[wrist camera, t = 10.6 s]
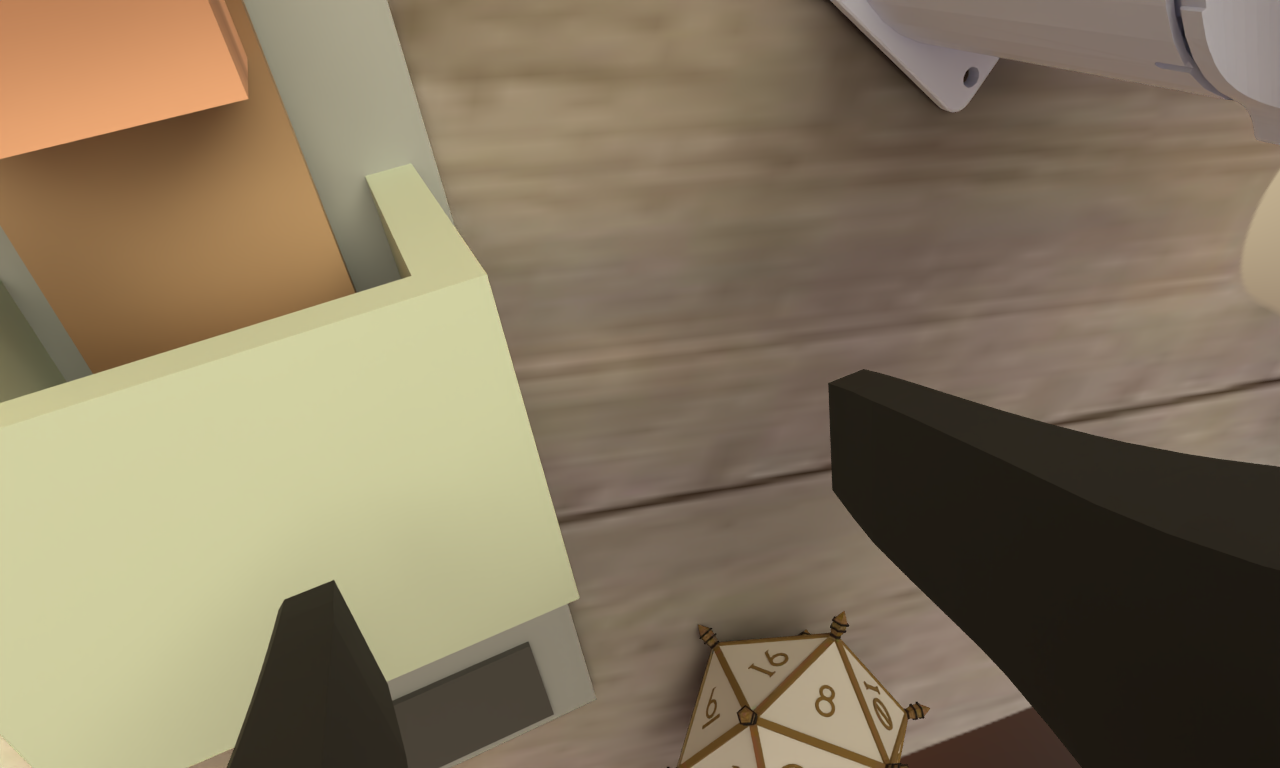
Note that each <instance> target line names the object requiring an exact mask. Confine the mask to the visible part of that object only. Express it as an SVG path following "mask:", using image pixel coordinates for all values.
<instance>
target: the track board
mask: <svg viewBox="0 0 1280 768" xmlns="http://www.w3.org/2000/svg"><path fill="white" fill-rule="evenodd" d="M243 1H244V3H245V6H246V8H247V11H248V13H249V16H250V19H251V21H252V24H253V26H254V29H255V32H256V34H257V37H258V39H259V42H260V44H261V47H262V50H263V52H264V55H265V57H266V60H267V62H268V65H269V68H270V70H271V73H272V75H273V78H274V80H275V83H276V86H277V88H278V91H279V93H280V96H281V99H282V101H283V104H284V106H285V109H286V111H287V114H288V117H289V119H290V122H291V124H292V127H293V129H294V132H295V135H296V137H297V140H298V142H299V145H300V147H301V150H302V153H303V155H304V158H305V160H306V163H307V166H308V168H309V171H310V173H311V176H312V178H313V181H314V184H315V186H316V189H317V191H318V194H319V196H320V199H321V202H322V204H323V207H324V209H325V212H326V214H327V217H328V220H329V222H330V225H331V227H332V230H333V233H334V235H335V238H336V240H337V243H338V245H339V248H340V251H341V253H342V256H343V258H344V261H345V263H346V266H347V269H348V271H349V274H350V276H351V279H352V281H353V284H354V287H355V289H356V292H357V293H358V292H361V291H364V290H367V289H371V288H374V287H377V286H380V285H384V284H387V283H390V282H393V281H397V280H400V279H401V277H400V275H399V272H398V269H397V266H396V263H395V260H394V257H393V255H392V252H391V249H390V246H389V243H388V240H387V238H386V235H385V232H384V229H383V226H382V223H381V220H380V218H379V215H378V212H377V209H376V206H375V203H374V200H373V198H372V195H371V192H370V189H369V186H368V183H367V181H366V178H365V176H367V175H371V174H374V173H378V172H382V171H385V170H389V169H393V168H396V167H400V166H403V165H407V164H412V165H413V167H414V168H415V169H416V171H417V172H418V174H419V175H420V177H421V178H422V180H423V181H424V183H425V184H426V186H427V187H428V189H429V190H430V191H431V193H432V194H433V196H434V197H435V199H436V200H437V202H438V203H439V205H440V206H441V208H442V209H443V211H444V212H445V214H446V215H447V216H448V218H449V219H450V221H451V222H452V224H453V225H454V222H453V219H452V215H451V212H450V209H449V205H448V202H447V199H446V195H445V192H444V189H443V185H442V182H441V179H440V175H439V172H438V169H437V165H436V162H435V159H434V155H433V152H432V149H431V145H430V142H429V139H428V135H427V132H426V129H425V125H424V122H423V119H422V115H421V112H420V109H419V105H418V102H417V98H416V95H415V92H414V88H413V85H412V82H411V78H410V75H409V72H408V68H407V65H406V62H405V58H404V55H403V52H402V48H401V45H400V42H399V38H398V35H397V32H396V28H395V25H394V22H393V18H392V15H391V12H390V8H389V5H388V2H387V0H243ZM454 227H455V225H454ZM0 280H1V281H2V283H3V284H4V286H5V288H6V289H7V291H8V292H9V294H10V295H11V297H12V298H13V300H14V301H15V303H16V304H17V306H18V308H19V309H20V311H21V312H22V314H23V315H24V317H25V318H26V320H27V321H28V323H29V324H30V326H31V328H32V329H33V331H34V332H35V334H36V335H37V337H38V338H39V340H40V341H41V343H42V345H43V346H44V348H45V349H46V351H47V352H48V354H49V355H50V357H51V358H52V360H53V361H54V363H55V365H56V366H57V368H58V369H59V371H60V372H61V374H62V375H63V377H64V378H65V380H66V381H67V382H70V381H73V380H76V379H80V378H83V377H86V376H89V375H93V373H92V371H91V370H90V368H89V367H88V365H87V363H86V362H85V360H84V359H83V357H82V355H81V354H80V352H79V351H78V349H77V347H76V346H75V344H74V343H73V341H72V339H71V338H70V336H69V335H68V333H67V331H66V330H65V328H64V327H63V325H62V323H61V322H60V320H59V319H58V317H57V315H56V314H55V312H54V311H53V309H52V307H51V306H50V304H49V303H48V301H47V299H46V298H45V296H44V295H43V293H42V291H41V290H40V288H39V287H38V285H37V283H36V282H35V280H34V279H33V277H32V275H31V274H30V272H29V271H28V269H27V267H26V266H25V264H24V262H23V261H22V259H21V258H20V256H19V254H18V253H17V251H16V250H15V248H14V246H13V245H12V243H11V242H10V240H9V238H8V237H7V235H6V234H5V232H4V230H3V229H2V227H1V226H0ZM525 642H529V644H530V647H531V650H532V653H533V655H534V658H535V661H536V664H537V667H538V670H539V673H540V675H541V678H542V681H543V684H544V687H545V690H546V693H547V695H548V698H549V701H550V704H551V707H552V710H553V712H554V715H552V716H550V717H548V718H545V719H543V720H541V721H539V722H537V723H535V724H533V725H530V726H528V727H526V728H524V729H522V730H520V731H517V732H515V733H513V734H511V735H509V736H507V737H505V738H502V739H500V740H498V741H496V742H494V743H492V744H490V745H487V746H485V747H483V748H481V749H479V750H477V751H475V752H472V753H470V754H468V755H466V756H464V757H462V758H460V759H457V760H455V761H453V762H451V763H449V764H447V765H444V766H442V767H440V768H451V767H453V766H455V765H458V764H460V763H462V762H464V761H466V760H468V759H470V758H473V757H475V756H477V755H479V754H481V753H483V752H485V751H488V750H490V749H492V748H494V747H496V746H498V745H500V744H503V743H505V742H507V741H509V740H511V739H513V738H515V737H518V736H520V735H522V734H524V733H526V732H528V731H530V730H532V729H535V728H537V727H539V726H541V725H543V724H545V723H547V722H550V721H552V720H554V719H556V718H558V717H560V716H562V715H565V714H567V713H569V712H571V711H573V710H575V709H577V708H580V707H582V706H584V705H586V704H588V703H590V702H592V701H595V700H597V699H596V696H595V693H594V689H593V686H592V683H591V679H590V676H589V673H588V669H587V666H586V663H585V659H584V656H583V653H582V649H581V646H580V643H579V639H578V636H577V633H576V629H575V626H574V623H573V619H572V616H571V613H570V609H569V606H568V604H566V605H563V606H561V607H559V608H557V609H554V610H552V611H550V612H547V613H545V614H543V615H540V616H538V617H536V618H533V619H531V620H529V621H526V622H524V623H522V624H519V625H517V626H515V627H512V628H510V629H508V630H506V631H503V632H501V633H499V634H496V635H494V636H492V637H489V638H487V639H485V640H482V641H480V642H478V643H475V644H473V645H471V646H468V647H466V648H464V649H462V650H459V651H457V652H455V653H452V654H450V655H448V656H445V657H443V658H441V659H438V660H436V661H434V662H431V663H429V664H427V665H424V666H422V667H420V668H418V669H415V670H413V671H411V672H408V673H406V674H404V675H401V676H399V677H397V678H394V679H392V680H390V681H387V683H388V686H389V690H390V694H391V698H392V701H393V700H395V699H398V698H400V697H402V696H404V695H407V694H409V693H411V692H414V691H416V690H418V689H420V688H423V687H425V686H427V685H430V684H432V683H434V682H436V681H439V680H441V679H443V678H445V677H448V676H450V675H452V674H455V673H457V672H459V671H461V670H464V669H466V668H468V667H471V666H473V665H475V664H477V663H480V662H482V661H484V660H487V659H489V658H491V657H493V656H496V655H498V654H500V653H503V652H505V651H507V650H509V649H512V648H514V647H516V646H518V645H521V644H523V643H525Z"/></svg>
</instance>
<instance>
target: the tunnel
mask: <svg viewBox="0 0 1280 768" xmlns="http://www.w3.org/2000/svg"><path fill="white" fill-rule="evenodd" d="M365 178H366V181H367V183H368V186H369V189H370V192H371V195H372V198H373V200H374V203H375V206H376V209H377V212H378V215H379V218H380V220H381V223H382V226H383V229H384V232H385V235H386V238H387V240H388V243H389V246H390V249H391V252H392V255H393V257H394V260H395V263H396V266H397V269H398V272H399V275H400V277H401V279H400V280H397V281H393V282H390V283H387V284H384V285H380V286H377V287H374V288H371V289H367V290H364V291H361V292H358V293H355V294H351V295H348V296H345V297H342V298H338V299H335V300H332V301H329V302H325V303H322V304H319V305H316V306H312V307H309V308H306V309H303V310H300V311H296V312H293V313H290V314H287V315H283V316H280V317H277V318H274V319H270V320H267V321H264V322H261V323H257V324H254V325H251V326H248V327H245V328H241V329H238V330H235V331H232V332H228V333H225V334H222V335H219V336H215V337H212V338H209V339H206V340H202V341H199V342H196V343H193V344H190V345H186V346H183V347H180V348H177V349H173V350H170V351H167V352H164V353H160V354H157V355H154V356H151V357H148V358H144V359H141V360H138V361H135V362H131V363H128V364H125V365H122V366H118V367H115V368H112V369H109V370H105V371H102V372H99V373H96V374H93V375H89V376H86V377H83V378H80V379H76V380H73V381H70V382H67V381H66V380H65V378H64V377H63V375H62V374H61V372H60V371H59V369H58V368H57V366H56V365H55V363H54V361H53V360H52V358H51V357H50V355H49V354H48V352H47V351H46V349H45V348H44V346H43V345H42V343H41V341H40V340H39V338H38V337H37V335H36V334H35V332H34V331H33V329H32V328H31V326H30V324H29V323H28V321H27V320H26V318H25V317H24V315H23V314H22V312H21V311H20V309H19V308H18V306H17V304H16V303H15V301H14V300H13V298H12V297H11V295H10V294H9V292H8V291H7V289H6V288H5V286H4V284H3V283H2V281H1V280H0V735H1V736H2V737H3V738H4V739H5V740H6V741H7V742H8V744H9V745H10V746H11V747H12V748H13V749H14V750H15V751H16V752H17V753H18V754H19V755H20V756H21V757H22V758H23V759H24V760H25V761H26V762H27V763H28V764H29V765H30V766H31V767H32V768H188V767H191V766H193V765H195V764H197V763H200V762H202V761H204V760H207V759H209V758H211V757H214V756H216V755H218V754H221V753H223V752H225V751H228V750H230V749H232V748H234V747H235V744H236V741H237V739H238V736H239V733H240V730H241V727H242V725H243V722H244V719H245V716H246V714H247V711H248V708H249V705H250V702H251V699H252V696H253V693H254V690H255V687H256V684H257V681H258V678H259V675H260V672H261V669H262V665H263V662H264V659H265V656H266V652H267V649H268V646H269V642H270V639H271V635H272V632H273V628H274V625H275V621H276V617H277V614H278V610H279V608H280V606H281V605H282V603H283V601H284V600H285V599H287V598H290V597H292V596H295V595H297V594H300V593H302V592H305V591H307V590H310V589H312V588H315V587H317V586H320V585H322V584H325V583H327V582H330V581H332V580H334V581H335V583H336V584H337V586H338V588H339V590H340V592H341V594H342V596H343V598H344V600H345V602H346V604H347V606H348V608H349V610H350V612H351V614H352V615H353V617H354V619H355V621H356V623H357V625H358V627H359V629H360V631H361V633H362V635H363V637H364V639H365V641H366V643H367V645H368V646H369V648H370V650H371V652H372V654H373V656H374V658H375V660H376V662H377V664H378V666H379V668H380V670H381V672H382V674H383V676H384V678H385V679H386V681H390V680H392V679H394V678H397V677H399V676H401V675H404V674H406V673H408V672H411V671H413V670H415V669H418V668H420V667H422V666H424V665H427V664H429V663H431V662H434V661H436V660H438V659H441V658H443V657H445V656H448V655H450V654H452V653H455V652H457V651H459V650H462V649H464V648H466V647H468V646H471V645H473V644H475V643H478V642H480V641H482V640H485V639H487V638H489V637H492V636H494V635H496V634H499V633H501V632H503V631H506V630H508V629H510V628H512V627H515V626H517V625H519V624H522V623H524V622H526V621H529V620H531V619H533V618H536V617H538V616H540V615H543V614H545V613H547V612H550V611H552V610H554V609H557V608H559V607H561V606H563V605H566V604H568V603H570V602H573V601H575V600H577V599H580V598H579V594H578V591H577V587H576V584H575V580H574V577H573V573H572V570H571V566H570V563H569V559H568V556H567V552H566V549H565V545H564V542H563V538H562V535H561V531H560V528H559V524H558V521H557V517H556V514H555V510H554V507H553V503H552V500H551V496H550V493H549V489H548V486H547V482H546V479H545V475H544V472H543V468H542V465H541V462H540V458H539V455H538V451H537V448H536V444H535V441H534V437H533V434H532V430H531V427H530V423H529V420H528V416H527V413H526V409H525V406H524V402H523V399H522V395H521V392H520V388H519V385H518V381H517V378H516V374H515V371H514V367H513V364H512V360H511V357H510V353H509V350H508V346H507V343H506V339H505V336H504V332H503V329H502V325H501V322H500V318H499V315H498V311H497V308H496V304H495V301H494V297H493V294H492V290H491V287H490V283H489V280H488V276H487V274H486V272H485V271H484V269H483V268H482V266H481V265H480V264H479V262H478V261H477V259H476V258H475V256H474V255H473V253H472V252H471V250H470V249H469V247H468V246H467V244H466V243H465V241H464V240H463V239H462V237H461V236H460V234H459V233H458V231H457V230H456V228H455V227H454V225H453V224H452V222H451V221H450V219H449V218H448V216H447V215H446V214H445V212H444V211H443V209H442V208H441V206H440V205H439V203H438V202H437V200H436V199H435V197H434V196H433V194H432V193H431V191H430V190H429V189H428V187H427V186H426V184H425V183H424V181H423V180H422V178H421V177H420V175H419V174H418V172H417V171H416V169H415V168H414V167H413V165H412V164H407V165H403V166H400V167H396V168H393V169H389V170H385V171H382V172H378V173H374V174H371V175H367V176H365Z"/></svg>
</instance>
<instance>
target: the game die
mask: <svg viewBox="0 0 1280 768" xmlns="http://www.w3.org/2000/svg"><path fill="white" fill-rule="evenodd" d="M832 621H833V623H832V624H831V626H830V628H831V633H825V634H812V635H811V634H810V633H809V632H808V631H807V630H805V631H804V632H802V633H801V634H799V635H798V636H788V637H776V638H764V639H752V640H740V641H728V642H719V641H717V638H716V636H715V635H716V633H715V634H714V633H713V631H712V630H711V629H712V628H707V627H704V626H701V625H698V627H699V632H700V639H702V640H703V641H704V644H707V645H709V646H710V647H711V652H710V656H709V659H708V663H707V666H706V670H705V673H704V676H703V680H702V683H701V687H700V690H699V693H698V697H697V700H696V704H695V707H694V711H693V714H692V717H691V721H690V724H689V728H688V731H687V734H686V738H685V741H684V745H683V748H682V751H681V755H680V758H679V762H678V765H677V767H676V768H908V765H907V764H901V763H900V757H901V752H902V747H903V742H904V737H905V732H906V727H907V722H908V719H910V718H912V719H913V720H917V719H918V718H919V719H921V718H924V716H925V714H926V713H927V712H928V711H929V709H930V708H928V707H926V706H923V705H921V704H919V703H918V702H916V704H914V705H912V704H910V705H909V707H908V708H906V709H903V708H902V707H901V705H900V704H899V703H898V702H897V701H896V700H895V699H894V698H893V697H892V695H891V694H890V693H889V692H888V691H887V690H886V689H885V688H884V687H883V685H882V684H881V683H880V682H879V681H878V680H877V679H876V678H875V677H874V676H873V674H872V673H871V672H870V671H869V670H868V669H867V668H866V667H865V666H864V664H863V663H862V662H861V661H860V660H859V659H858V658H857V657H856V656H855V654H854V653H853V652H852V651H851V650H850V649H849V648H848V647H847V646H846V644H845V643H844V642H843V641H842V640H841V639H840V638H841V635H842V634H843V633H846V630H845V629H846V627H849V624H848V623H847V620H846V616H845V611H843V612H842V613H841V614H839V615H838V616H837V617H835V616H834V618H833V619H832ZM667 768H669V767H667Z"/></svg>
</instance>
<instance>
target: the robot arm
mask: <svg viewBox="0 0 1280 768" xmlns="http://www.w3.org/2000/svg"><path fill="white" fill-rule="evenodd" d="M830 1H831V2H832V3H833V4H834V5H835V6H836V7H837V8H838V9H839V10H840V11H841V12H842V13H843V14H844V15H846V16H847V17H848V18H849V19H850V20H851V21H852V22H853V23H854V24H855V25H856V26H857V27H858V28H859V29H860V30H861V31H862V32H863V33H864V34H865V35H866V36H867V37H868V38H869V39H870V40H871V41H872V42H873V43H874V44H875V45H876V46H877V47H878V48H879V49H880V50H881V51H882V52H883V53H884V54H885V55H886V56H887V57H888V58H890V59H891V60H892V61H893V62H894V63H895V64H896V65H897V66H898V67H899V68H900V69H901V70H902V71H903V72H904V73H905V74H906V75H907V76H908V77H909V78H910V79H911V80H912V81H913V82H914V83H915V84H916V85H917V86H918V87H919V88H920V89H921V90H922V91H923V92H924V93H925V94H926V95H927V96H928V97H929V98H930V99H931V100H932V101H933V102H935V103H936V104H937V105H938V106H939V107H940V108H941V109H943V110H945V111H949V112H958V111H960V110H962V109H964V108H965V106H966V105H967V104H968V103H969V102H970V100H971V99H972V97H973V96H974V94H975V93H976V92H977V90H978V89H979V87H980V86H981V84H982V83H983V81H984V80H985V79H986V77H987V76H988V74H989V73H990V71H991V70H992V68H993V67H994V66H995V64H996V63H997V61H998V60H999V58H1005V59H1010V60H1016V61H1021V62H1027V63H1032V64H1037V65H1043V66H1048V67H1054V68H1059V69H1064V70H1070V71H1075V72H1081V73H1086V74H1091V75H1097V76H1102V77H1108V78H1113V79H1118V80H1124V81H1129V82H1135V83H1140V84H1145V85H1151V86H1156V87H1162V88H1167V89H1172V90H1178V91H1183V92H1189V93H1194V94H1199V95H1205V96H1210V97H1216V98H1221V99H1227V100H1235V101H1237V102H1238V103H1240V104H1241V105H1243V106H1244V107H1245V108H1246V110H1247V111H1248V112H1249V114H1250V116H1251V119H1252V121H1253V128H1254V135H1255V138H1256V140H1259V141H1263V142H1268V143H1272V144H1277V145H1280V0H830ZM967 70H969V74H968V77H967V80H966V81H965V82H964V83H963V79H964V75H965V73H966V71H967ZM828 385H829V411H830V438H831V464H832V490H833V491H834V493H835V494H836V495H837V497H838V498H839V499H840V501H841V502H842V503H843V505H844V506H845V507H846V509H847V510H848V511H849V513H850V514H851V515H852V517H853V518H854V519H855V520H856V522H857V523H858V524H859V525H860V527H861V528H862V529H863V530H864V532H865V533H866V534H867V535H868V537H869V538H870V539H871V540H872V542H873V543H874V544H875V545H876V546H877V547H878V548H879V549H880V550H881V551H882V552H883V553H884V554H885V555H886V556H887V557H888V558H889V559H890V560H891V561H892V562H893V563H894V564H895V565H896V566H897V567H898V568H899V569H900V570H901V571H902V572H903V573H904V574H905V575H906V576H907V577H908V578H909V579H910V580H911V581H912V582H913V583H914V584H915V585H916V586H917V587H918V588H920V589H921V590H922V591H923V592H924V593H925V594H926V595H927V596H928V597H929V598H930V599H931V600H932V601H933V602H934V603H935V604H936V605H937V606H938V607H939V608H940V609H941V610H942V611H943V612H944V613H945V614H946V615H947V616H948V617H949V618H950V619H951V620H952V621H953V622H954V623H955V624H956V625H957V626H959V627H960V628H961V629H962V630H963V631H964V632H965V633H966V634H967V635H968V636H969V637H970V638H971V639H972V640H973V641H974V642H975V643H976V644H977V645H978V646H979V647H980V648H981V649H982V650H983V651H984V652H985V653H986V654H987V655H988V656H989V657H990V658H991V660H992V661H993V662H994V663H995V664H996V665H997V666H998V667H999V668H1000V669H1001V670H1002V671H1003V672H1004V673H1005V674H1006V676H1007V677H1008V678H1009V679H1010V680H1011V682H1012V683H1013V684H1014V685H1015V686H1016V688H1017V689H1018V690H1019V691H1020V692H1021V693H1022V695H1023V696H1024V697H1025V698H1026V699H1027V701H1028V702H1029V703H1030V704H1031V705H1032V707H1033V708H1034V709H1035V710H1036V711H1037V713H1038V714H1039V715H1040V716H1041V717H1042V718H1043V719H1044V721H1045V722H1046V723H1047V724H1048V726H1049V727H1050V728H1051V729H1052V730H1053V732H1054V733H1055V734H1056V735H1057V737H1058V738H1059V739H1060V741H1061V742H1062V743H1063V744H1064V745H1065V747H1066V748H1067V749H1068V750H1069V752H1070V753H1071V754H1072V756H1073V757H1074V758H1075V759H1076V761H1077V762H1078V763H1079V764H1080V766H1081V767H1082V768H1280V467H1277V466H1269V465H1261V464H1253V463H1245V462H1237V461H1230V460H1222V459H1215V458H1209V457H1202V456H1196V455H1189V454H1184V453H1178V452H1173V451H1168V450H1162V449H1157V448H1152V447H1147V446H1141V445H1136V444H1131V443H1126V442H1121V441H1117V440H1112V439H1108V438H1103V437H1099V436H1095V435H1091V434H1087V433H1083V432H1079V431H1075V430H1071V429H1067V428H1063V427H1059V426H1055V425H1051V424H1047V423H1044V422H1040V421H1037V420H1033V419H1029V418H1026V417H1022V416H1019V415H1015V414H1012V413H1008V412H1005V411H1002V410H998V409H995V408H992V407H988V406H985V405H982V404H979V403H975V402H972V401H969V400H966V399H962V398H959V397H956V396H953V395H950V394H946V393H943V392H940V391H937V390H934V389H931V388H927V387H924V386H921V385H918V384H915V383H911V382H908V381H905V380H902V379H898V378H895V377H891V376H888V375H884V374H881V373H877V372H873V371H869V370H865V369H863V370H860V371H858V372H855V373H853V374H850V375H848V376H845V377H843V378H840V379H838V380H835V381H833V382H830V383H828ZM227 768H408V765H407V757H406V753H405V749H404V745H403V741H402V737H401V733H400V729H399V725H398V721H397V717H396V713H395V709H394V706H393V702H392V698H391V694H390V690H389V686H388V683H387V681H386V679H385V678H384V676H383V674H382V672H381V670H380V668H379V666H378V664H377V662H376V660H375V658H374V656H373V654H372V652H371V650H370V648H369V646H368V645H367V643H366V641H365V639H364V637H363V635H362V633H361V631H360V629H359V627H358V625H357V623H356V621H355V619H354V617H353V615H352V614H351V612H350V610H349V608H348V606H347V604H346V602H345V600H344V598H343V596H342V594H341V592H340V590H339V588H338V586H337V584H336V583H335V581H334V580H332V581H330V582H327V583H325V584H322V585H320V586H317V587H315V588H312V589H310V590H307V591H305V592H302V593H300V594H297V595H295V596H292V597H290V598H287V599H285V600H284V601H283V603H282V605H281V606H280V608H279V610H278V614H277V617H276V621H275V625H274V628H273V632H272V635H271V639H270V642H269V646H268V649H267V652H266V656H265V659H264V662H263V665H262V669H261V672H260V675H259V678H258V681H257V684H256V687H255V690H254V693H253V696H252V699H251V702H250V705H249V708H248V711H247V714H246V716H245V719H244V722H243V725H242V727H241V730H240V733H239V736H238V739H237V741H236V744H235V747H234V750H233V753H232V755H231V758H230V761H229V763H228V766H227Z"/></svg>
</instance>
